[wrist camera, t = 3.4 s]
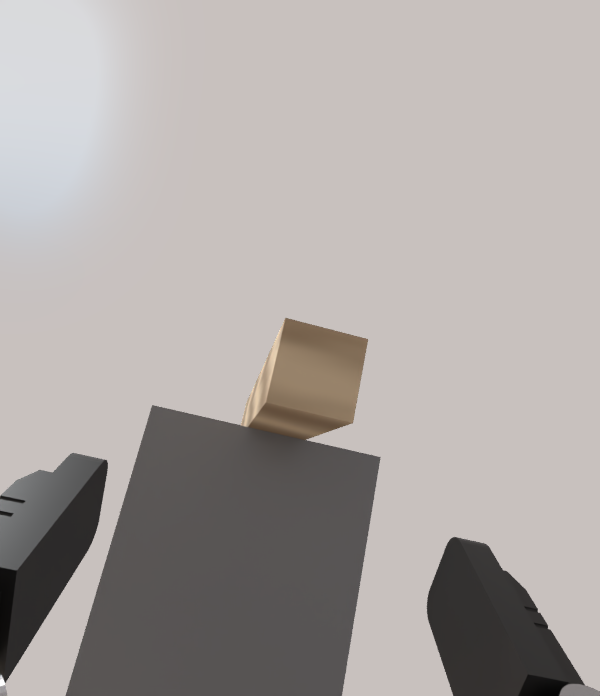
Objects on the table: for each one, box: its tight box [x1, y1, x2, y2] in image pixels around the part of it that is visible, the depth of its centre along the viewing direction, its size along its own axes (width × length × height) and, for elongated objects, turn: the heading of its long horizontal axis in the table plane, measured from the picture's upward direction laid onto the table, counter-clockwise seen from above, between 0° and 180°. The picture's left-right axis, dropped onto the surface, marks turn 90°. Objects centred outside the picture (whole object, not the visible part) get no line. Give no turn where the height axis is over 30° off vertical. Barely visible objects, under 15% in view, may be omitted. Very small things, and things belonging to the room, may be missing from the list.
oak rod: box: [241, 318, 368, 440], centre depth 27 cm, size 22×3×3 cm, turn 10°
